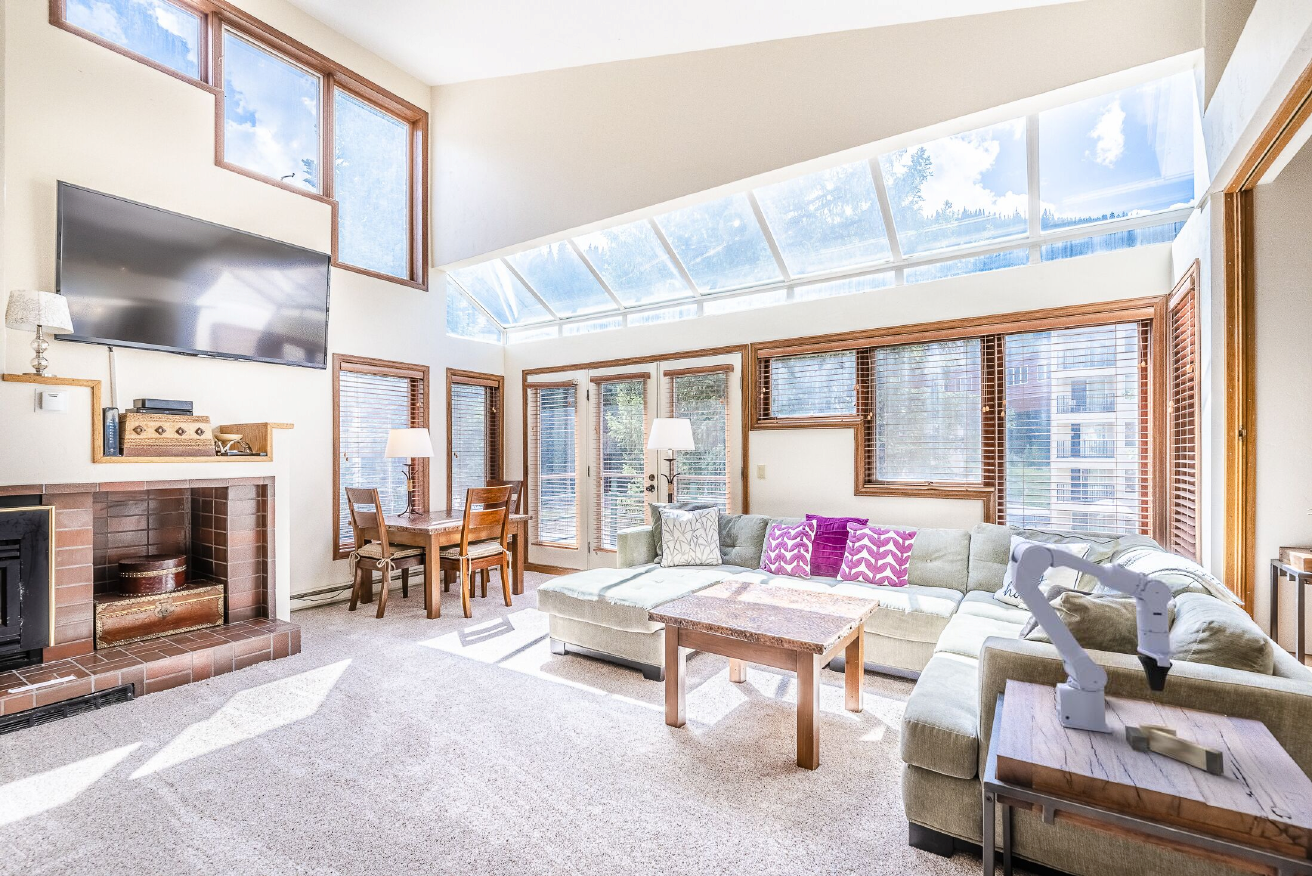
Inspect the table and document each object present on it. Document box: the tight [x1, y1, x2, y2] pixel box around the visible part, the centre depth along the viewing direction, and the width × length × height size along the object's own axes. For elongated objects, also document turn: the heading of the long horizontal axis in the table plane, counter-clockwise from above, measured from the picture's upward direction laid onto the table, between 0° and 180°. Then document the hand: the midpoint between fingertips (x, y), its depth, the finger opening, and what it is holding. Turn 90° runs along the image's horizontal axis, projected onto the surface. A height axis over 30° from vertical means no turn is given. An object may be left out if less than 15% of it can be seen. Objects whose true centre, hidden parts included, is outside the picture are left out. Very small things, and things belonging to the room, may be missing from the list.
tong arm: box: [1149, 729, 1225, 776], centre depth 125 cm, size 12×2×4 cm, turn 21°
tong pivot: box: [1124, 722, 1177, 753], centre depth 132 cm, size 8×6×4 cm, turn 65°
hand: (1156, 690), depth 141 cm, fingers closed
